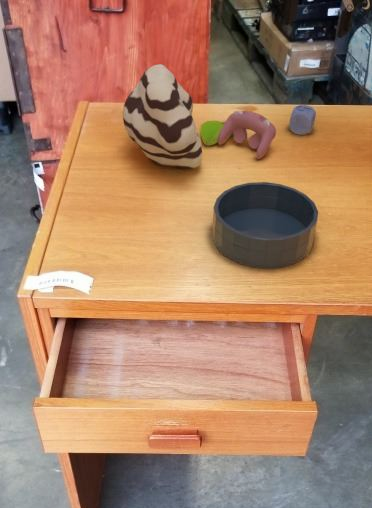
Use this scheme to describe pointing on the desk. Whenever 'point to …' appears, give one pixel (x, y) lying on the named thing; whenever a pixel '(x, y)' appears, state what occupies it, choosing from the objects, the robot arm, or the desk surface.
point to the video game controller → (250, 121)
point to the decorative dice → (302, 119)
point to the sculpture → (163, 120)
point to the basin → (264, 224)
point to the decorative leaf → (211, 132)
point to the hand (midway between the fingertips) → (315, 29)
